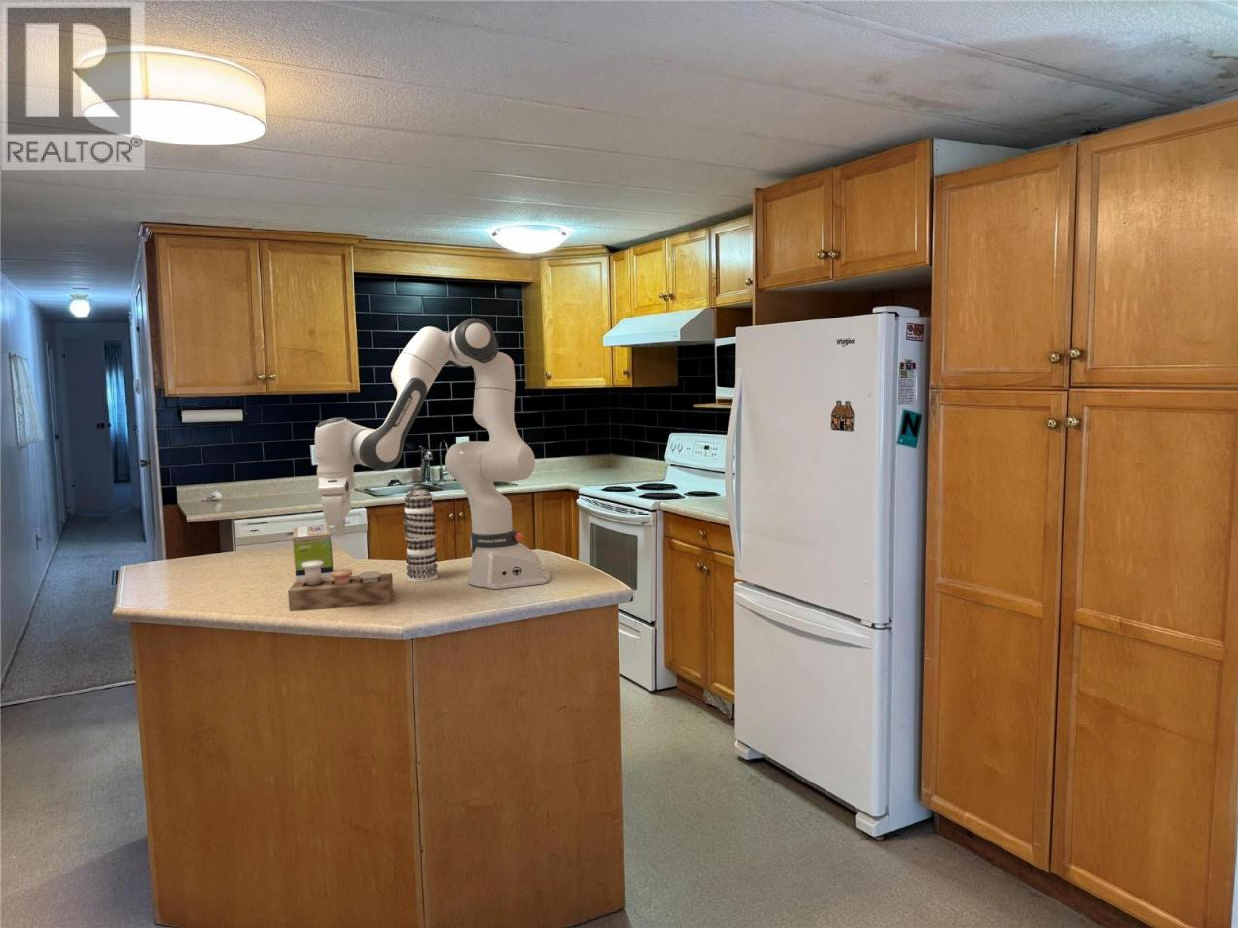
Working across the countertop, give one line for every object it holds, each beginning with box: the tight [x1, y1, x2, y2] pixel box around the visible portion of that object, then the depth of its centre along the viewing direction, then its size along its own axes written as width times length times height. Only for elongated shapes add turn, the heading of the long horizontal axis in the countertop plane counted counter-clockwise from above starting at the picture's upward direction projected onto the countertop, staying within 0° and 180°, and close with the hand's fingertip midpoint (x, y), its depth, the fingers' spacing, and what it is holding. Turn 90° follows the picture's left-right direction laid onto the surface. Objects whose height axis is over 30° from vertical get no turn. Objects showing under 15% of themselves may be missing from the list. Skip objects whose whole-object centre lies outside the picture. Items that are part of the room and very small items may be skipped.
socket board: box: [287, 572, 394, 611], centre depth 215 cm, size 24×12×5 cm, turn 100°
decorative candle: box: [402, 489, 439, 583], centre depth 236 cm, size 9×9×25 cm
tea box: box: [292, 524, 334, 582], centre depth 236 cm, size 15×10×15 cm, turn 21°
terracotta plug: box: [331, 568, 353, 585], centre depth 215 cm, size 5×5×5 cm
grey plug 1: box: [302, 561, 323, 585], centre depth 213 cm, size 5×5×5 cm
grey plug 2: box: [358, 570, 381, 583], centre depth 216 cm, size 5×5×5 cm
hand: (340, 535), depth 214 cm, fingers closed
